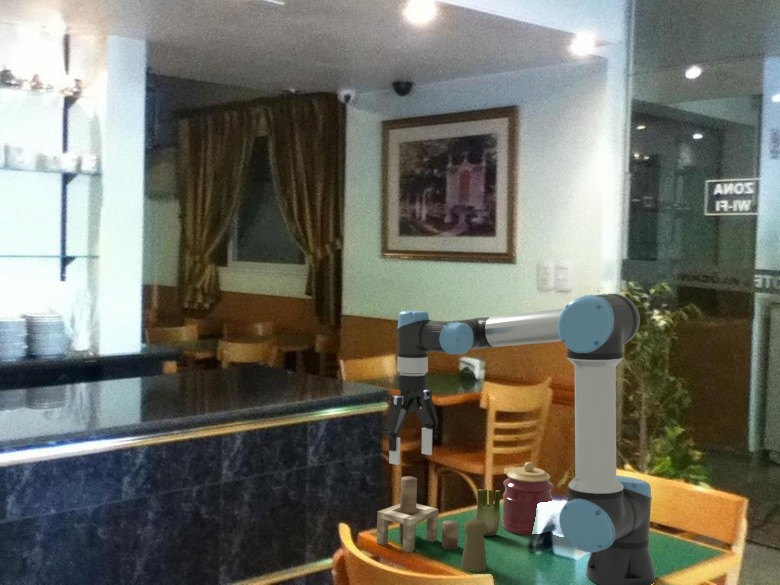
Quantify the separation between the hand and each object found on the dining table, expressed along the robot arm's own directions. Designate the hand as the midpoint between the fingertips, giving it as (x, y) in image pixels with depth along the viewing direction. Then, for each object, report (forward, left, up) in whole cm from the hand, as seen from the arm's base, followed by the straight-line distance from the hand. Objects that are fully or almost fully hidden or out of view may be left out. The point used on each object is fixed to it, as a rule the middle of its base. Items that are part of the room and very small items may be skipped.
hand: (410, 459), depth 235 cm
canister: (-17, -30, -21) cm, 40 cm away
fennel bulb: (-12, -18, -21) cm, 30 cm away
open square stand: (0, 0, -21) cm, 21 cm away
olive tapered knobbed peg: (-22, +4, -21) cm, 30 cm away
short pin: (-10, -4, -21) cm, 23 cm away
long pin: (0, 0, -21) cm, 21 cm away
